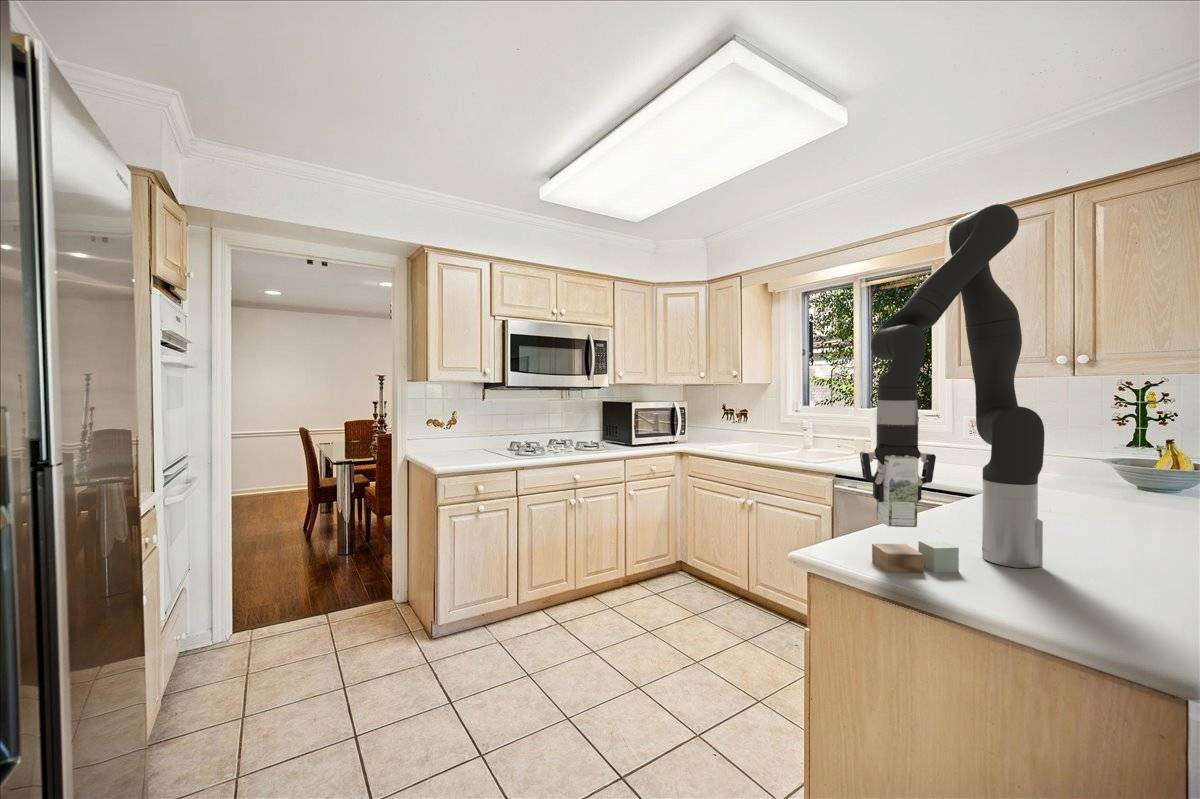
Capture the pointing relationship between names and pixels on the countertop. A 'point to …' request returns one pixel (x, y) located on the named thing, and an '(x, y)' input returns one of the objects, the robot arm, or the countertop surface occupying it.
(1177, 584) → the countertop surface
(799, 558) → the countertop surface
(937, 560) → the grey-green cube
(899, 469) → the syrup box
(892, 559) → the walnut block
